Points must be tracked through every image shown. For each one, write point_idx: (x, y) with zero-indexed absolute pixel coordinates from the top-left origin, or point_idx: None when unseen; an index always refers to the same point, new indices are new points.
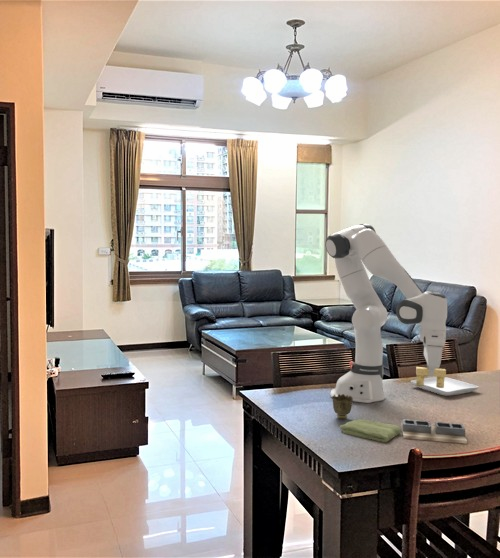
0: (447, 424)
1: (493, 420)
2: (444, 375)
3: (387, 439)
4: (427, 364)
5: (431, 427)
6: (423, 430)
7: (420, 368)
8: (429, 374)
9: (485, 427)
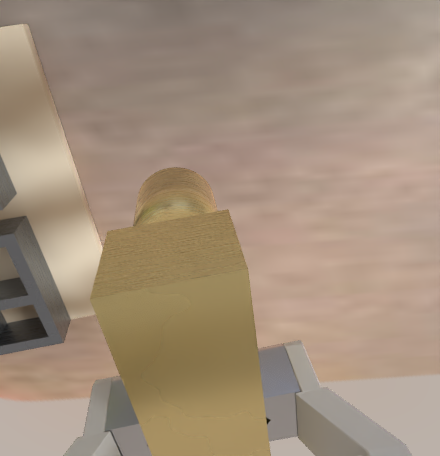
0: (27, 286)
1: None
2: None
3: None
4: (340, 432)
5: (40, 201)
6: None
7: (137, 345)
8: (93, 398)
9: None
